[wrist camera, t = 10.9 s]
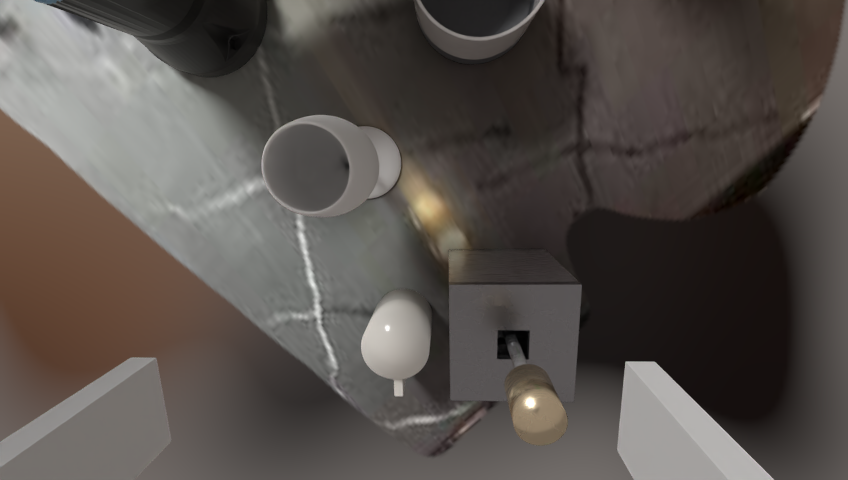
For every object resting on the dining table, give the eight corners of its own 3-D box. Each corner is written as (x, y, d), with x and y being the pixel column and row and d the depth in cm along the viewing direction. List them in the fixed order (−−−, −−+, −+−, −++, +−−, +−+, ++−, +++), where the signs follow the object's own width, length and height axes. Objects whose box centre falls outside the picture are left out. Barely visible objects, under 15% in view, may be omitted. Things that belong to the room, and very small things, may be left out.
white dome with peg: (377, 362, 54) (364, 403, 45) (374, 288, 51) (359, 316, 43) (433, 363, 53) (430, 404, 44) (431, 288, 51) (429, 316, 42)
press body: (449, 337, 52) (450, 400, 39) (448, 249, 50) (449, 284, 36) (540, 337, 51) (574, 402, 38) (544, 248, 49) (581, 284, 35)
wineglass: (380, 113, 47) (328, 80, 26) (413, 178, 48) (389, 196, 28) (318, 147, 48) (222, 141, 27) (352, 210, 49) (286, 249, 29)
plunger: (459, 333, 50) (470, 479, 28) (459, 263, 48) (470, 358, 26) (533, 334, 50) (606, 483, 27) (536, 262, 48) (618, 359, 25)
